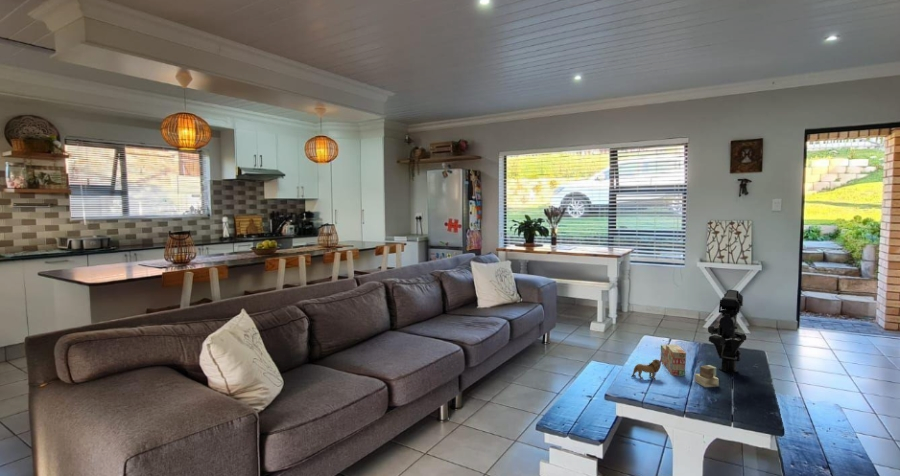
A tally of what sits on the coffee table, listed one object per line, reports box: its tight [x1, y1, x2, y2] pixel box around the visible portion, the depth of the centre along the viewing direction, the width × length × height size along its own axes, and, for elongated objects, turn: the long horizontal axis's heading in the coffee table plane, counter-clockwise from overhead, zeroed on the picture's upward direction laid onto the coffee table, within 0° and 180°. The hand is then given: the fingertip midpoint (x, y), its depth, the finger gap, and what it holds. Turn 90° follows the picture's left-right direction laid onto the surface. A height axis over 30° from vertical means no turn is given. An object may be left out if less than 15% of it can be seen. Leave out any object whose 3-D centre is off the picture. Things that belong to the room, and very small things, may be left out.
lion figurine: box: [630, 359, 662, 380], centre depth 224 cm, size 15×5×9 cm, turn 95°
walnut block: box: [699, 365, 714, 379], centre depth 216 cm, size 4×4×4 cm
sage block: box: [707, 364, 717, 377], centre depth 227 cm, size 4×4×4 cm
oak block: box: [694, 373, 720, 388], centre depth 216 cm, size 7×7×4 cm
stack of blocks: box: [660, 344, 687, 377], centre depth 236 cm, size 21×6×12 cm, turn 170°
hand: (726, 355), depth 221 cm, fingers open, 9 cm apart
